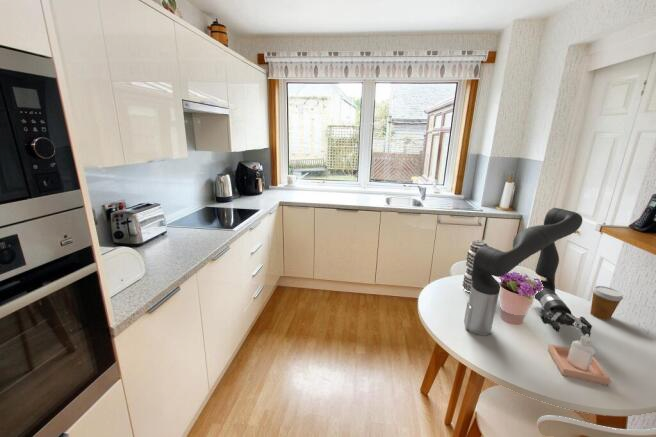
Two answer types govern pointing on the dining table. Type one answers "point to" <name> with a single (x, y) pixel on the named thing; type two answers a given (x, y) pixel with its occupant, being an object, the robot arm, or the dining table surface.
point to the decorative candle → (471, 263)
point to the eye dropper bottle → (581, 353)
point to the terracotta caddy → (566, 369)
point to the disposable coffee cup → (604, 302)
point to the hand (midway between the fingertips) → (573, 332)
